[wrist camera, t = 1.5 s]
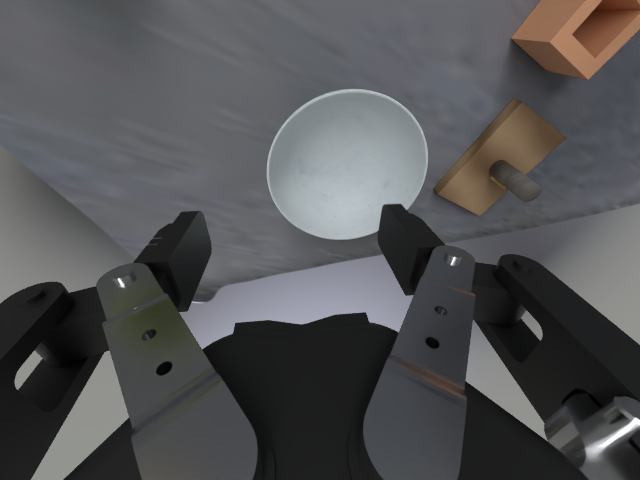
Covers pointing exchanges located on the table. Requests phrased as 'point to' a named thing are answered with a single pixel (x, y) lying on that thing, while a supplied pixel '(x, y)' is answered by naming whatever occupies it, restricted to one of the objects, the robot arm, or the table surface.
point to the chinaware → (346, 163)
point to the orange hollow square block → (577, 33)
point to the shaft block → (501, 160)
